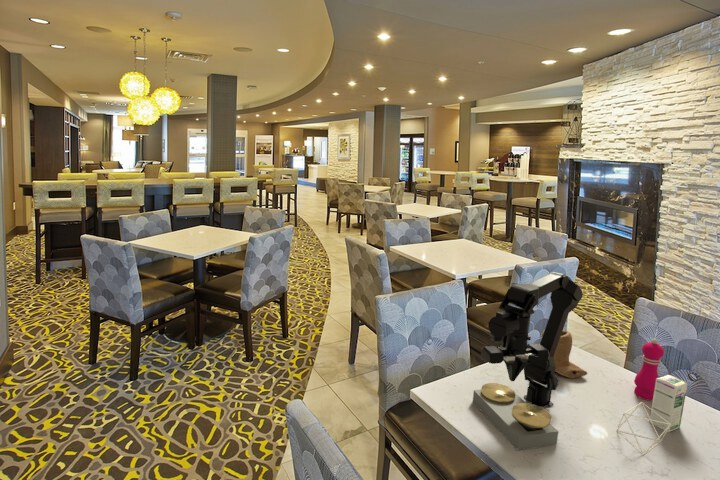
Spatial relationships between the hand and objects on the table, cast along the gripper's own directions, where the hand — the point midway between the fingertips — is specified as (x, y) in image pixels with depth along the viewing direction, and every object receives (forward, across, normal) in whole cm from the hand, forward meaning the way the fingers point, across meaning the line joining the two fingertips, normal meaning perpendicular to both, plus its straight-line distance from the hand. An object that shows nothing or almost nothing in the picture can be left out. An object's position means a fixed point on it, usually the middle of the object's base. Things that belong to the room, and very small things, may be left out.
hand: (511, 380), depth 133 cm
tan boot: (+12, -35, -25) cm, 45 cm away
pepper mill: (+12, -53, -4) cm, 55 cm away
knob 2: (+9, -1, +10) cm, 13 cm away
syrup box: (+12, -45, +11) cm, 48 cm away
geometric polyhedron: (+12, -31, +16) cm, 37 cm away
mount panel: (+12, 0, +2) cm, 12 cm away
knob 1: (+12, 0, -6) cm, 13 cm away
